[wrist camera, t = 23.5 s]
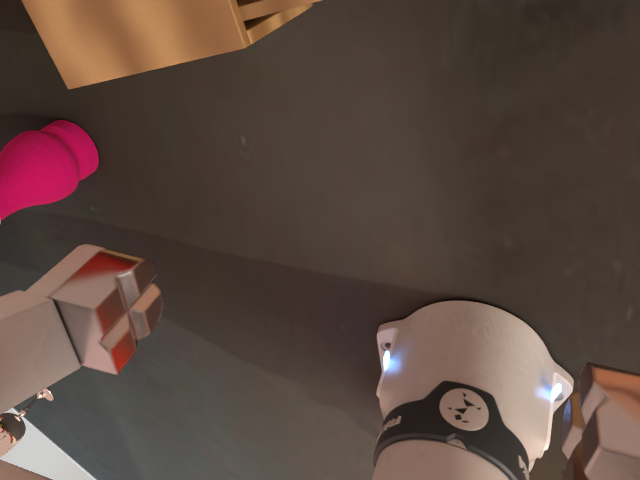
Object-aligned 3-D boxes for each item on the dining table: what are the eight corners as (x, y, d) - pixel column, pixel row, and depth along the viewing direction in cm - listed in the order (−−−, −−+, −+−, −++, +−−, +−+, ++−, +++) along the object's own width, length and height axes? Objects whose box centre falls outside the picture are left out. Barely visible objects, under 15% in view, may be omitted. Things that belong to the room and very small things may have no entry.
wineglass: (62, 404, 96) (9, 462, 87) (41, 400, 98) (-13, 456, 89) (45, 382, 93) (-11, 440, 84) (24, 379, 95) (-33, 434, 86)
